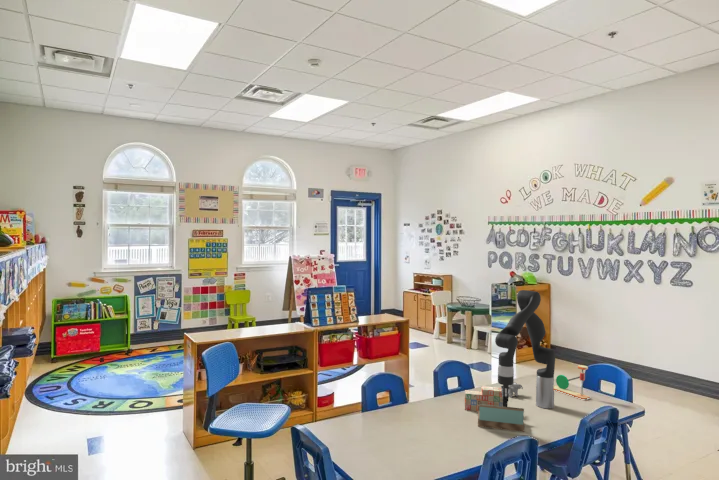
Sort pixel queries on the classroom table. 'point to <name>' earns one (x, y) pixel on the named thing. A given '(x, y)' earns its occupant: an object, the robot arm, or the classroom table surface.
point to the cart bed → (500, 425)
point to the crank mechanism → (564, 384)
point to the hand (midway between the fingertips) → (505, 408)
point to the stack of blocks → (483, 397)
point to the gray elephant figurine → (514, 389)
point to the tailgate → (501, 414)
